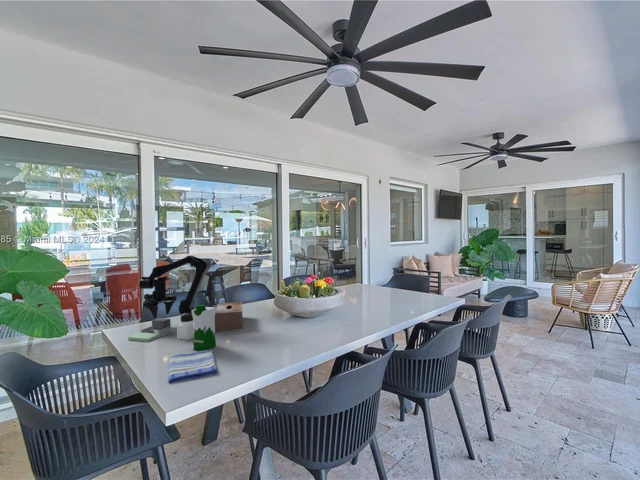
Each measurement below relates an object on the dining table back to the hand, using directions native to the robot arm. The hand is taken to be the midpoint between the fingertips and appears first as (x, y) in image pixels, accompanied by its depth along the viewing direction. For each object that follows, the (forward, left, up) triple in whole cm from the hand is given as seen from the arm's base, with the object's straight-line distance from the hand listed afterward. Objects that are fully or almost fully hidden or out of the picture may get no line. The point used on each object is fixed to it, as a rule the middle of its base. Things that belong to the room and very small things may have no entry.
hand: (161, 316), depth 179 cm
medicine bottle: (-26, +11, -7) cm, 29 cm away
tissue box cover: (-34, -15, -7) cm, 38 cm away
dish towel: (-52, +41, -7) cm, 67 cm away
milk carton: (-44, +22, -7) cm, 50 cm away
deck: (-5, +14, -6) cm, 16 cm away
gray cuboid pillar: (0, 0, -7) cm, 7 cm away
